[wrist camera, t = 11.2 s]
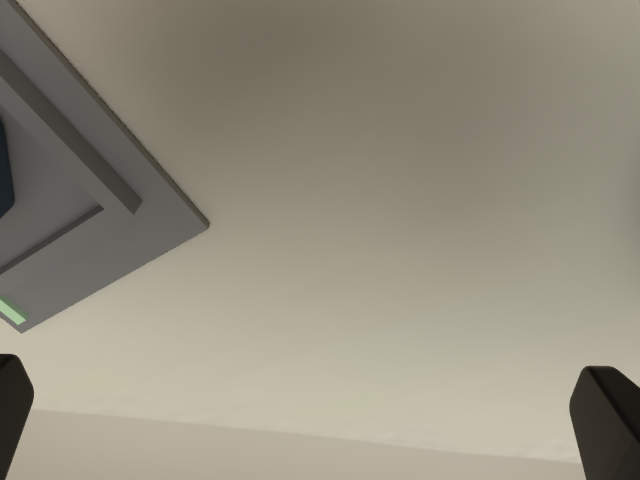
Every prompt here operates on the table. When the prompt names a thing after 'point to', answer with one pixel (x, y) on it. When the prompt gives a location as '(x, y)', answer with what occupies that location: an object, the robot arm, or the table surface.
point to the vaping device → (5, 177)
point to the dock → (73, 184)
